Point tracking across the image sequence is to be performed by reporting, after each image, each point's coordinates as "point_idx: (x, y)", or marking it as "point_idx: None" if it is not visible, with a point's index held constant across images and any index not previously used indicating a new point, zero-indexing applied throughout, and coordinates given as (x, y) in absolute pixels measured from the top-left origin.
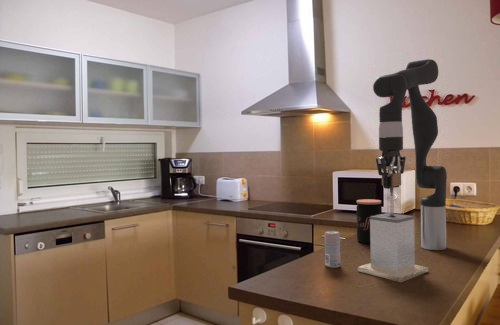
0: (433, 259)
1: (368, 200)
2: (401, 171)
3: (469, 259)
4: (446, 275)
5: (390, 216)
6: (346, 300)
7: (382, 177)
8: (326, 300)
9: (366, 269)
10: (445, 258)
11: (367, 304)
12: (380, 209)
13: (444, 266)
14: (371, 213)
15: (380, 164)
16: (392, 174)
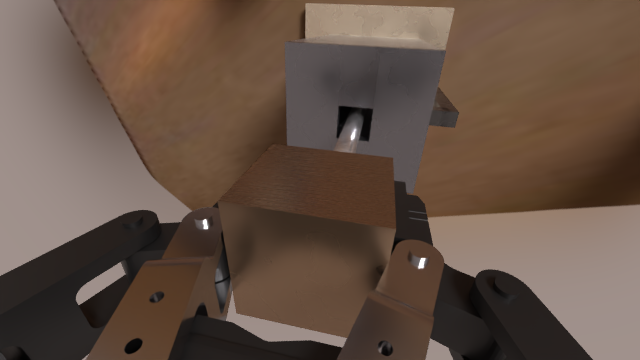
0: (571, 109)
1: None
2: (451, 353)
3: (620, 184)
4: (417, 183)
5: (346, 120)
6: (158, 107)
7: (240, 186)
8: (129, 80)
9: (305, 37)
10: (604, 131)
11: (175, 141)
12: None
13: (497, 157)
14: None
15: (4, 335)
16: (238, 301)
